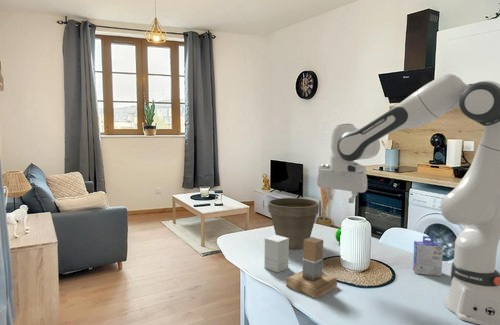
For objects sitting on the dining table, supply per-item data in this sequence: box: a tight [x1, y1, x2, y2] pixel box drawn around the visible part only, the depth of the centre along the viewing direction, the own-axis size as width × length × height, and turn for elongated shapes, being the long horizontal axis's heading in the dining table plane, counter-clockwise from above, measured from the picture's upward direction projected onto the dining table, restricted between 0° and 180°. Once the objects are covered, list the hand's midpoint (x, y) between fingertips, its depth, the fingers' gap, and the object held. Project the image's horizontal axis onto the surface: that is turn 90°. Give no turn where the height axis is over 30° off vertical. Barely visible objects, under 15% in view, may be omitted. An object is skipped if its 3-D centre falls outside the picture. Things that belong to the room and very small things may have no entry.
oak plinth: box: [285, 270, 338, 299], centre depth 126 cm, size 13×13×3 cm
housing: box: [301, 236, 324, 282], centre depth 126 cm, size 5×5×14 cm
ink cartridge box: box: [412, 235, 444, 277], centre depth 141 cm, size 10×6×14 cm, turn 78°
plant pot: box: [267, 197, 320, 250], centre depth 173 cm, size 25×25×22 cm
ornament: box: [335, 227, 342, 244], centre depth 176 cm, size 8×8×10 cm
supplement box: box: [263, 234, 290, 273], centre depth 143 cm, size 7×7×13 cm
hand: (340, 201), depth 137 cm, fingers open, 8 cm apart
